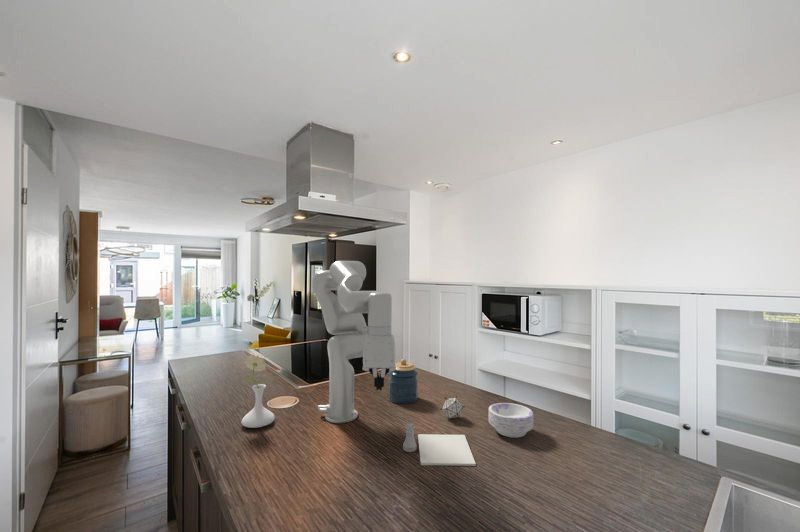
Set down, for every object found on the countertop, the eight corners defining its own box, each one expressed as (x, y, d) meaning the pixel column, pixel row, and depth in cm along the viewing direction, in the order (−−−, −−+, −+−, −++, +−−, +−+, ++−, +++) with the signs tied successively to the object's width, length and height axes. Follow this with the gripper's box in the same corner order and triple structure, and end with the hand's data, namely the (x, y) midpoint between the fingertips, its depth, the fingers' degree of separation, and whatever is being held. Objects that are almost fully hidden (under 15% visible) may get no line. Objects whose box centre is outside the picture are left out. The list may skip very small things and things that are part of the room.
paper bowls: (501, 419, 133) (501, 398, 133) (540, 432, 122) (540, 409, 122) (480, 431, 122) (480, 409, 123) (520, 447, 112) (520, 422, 112)
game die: (456, 429, 132) (464, 415, 126) (435, 419, 134) (442, 404, 128) (461, 410, 139) (469, 396, 134) (441, 401, 141) (448, 386, 135)
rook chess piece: (402, 446, 112) (402, 421, 112) (415, 445, 112) (416, 420, 112) (403, 453, 107) (403, 427, 107) (417, 452, 108) (417, 426, 108)
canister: (383, 401, 150) (384, 360, 150) (395, 392, 162) (395, 354, 162) (411, 406, 145) (412, 364, 146) (421, 396, 157) (421, 357, 158)
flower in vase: (281, 421, 129) (282, 354, 130) (257, 433, 119) (258, 361, 120) (256, 414, 135) (257, 350, 135) (230, 426, 125) (232, 356, 125)
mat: (420, 465, 101) (420, 462, 101) (417, 435, 119) (418, 434, 119) (475, 465, 100) (475, 463, 100) (464, 436, 118) (464, 434, 118)
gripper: (354, 332, 107) (354, 392, 106) (403, 333, 107) (402, 393, 106) (357, 329, 114) (357, 384, 114) (403, 329, 114) (402, 385, 114)
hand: (379, 388), depth 110 cm, fingers closed
